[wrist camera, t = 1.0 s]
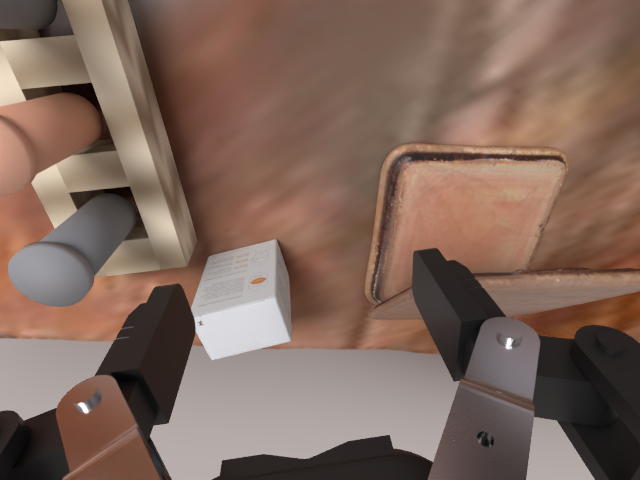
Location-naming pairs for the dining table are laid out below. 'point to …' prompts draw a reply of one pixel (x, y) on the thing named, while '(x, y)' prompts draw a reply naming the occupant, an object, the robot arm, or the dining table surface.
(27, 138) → the plug mid
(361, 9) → the dining table surface
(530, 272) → the case
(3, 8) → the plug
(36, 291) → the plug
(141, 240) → the socket block
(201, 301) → the small box
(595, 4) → the dining table surface
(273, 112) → the dining table surface
